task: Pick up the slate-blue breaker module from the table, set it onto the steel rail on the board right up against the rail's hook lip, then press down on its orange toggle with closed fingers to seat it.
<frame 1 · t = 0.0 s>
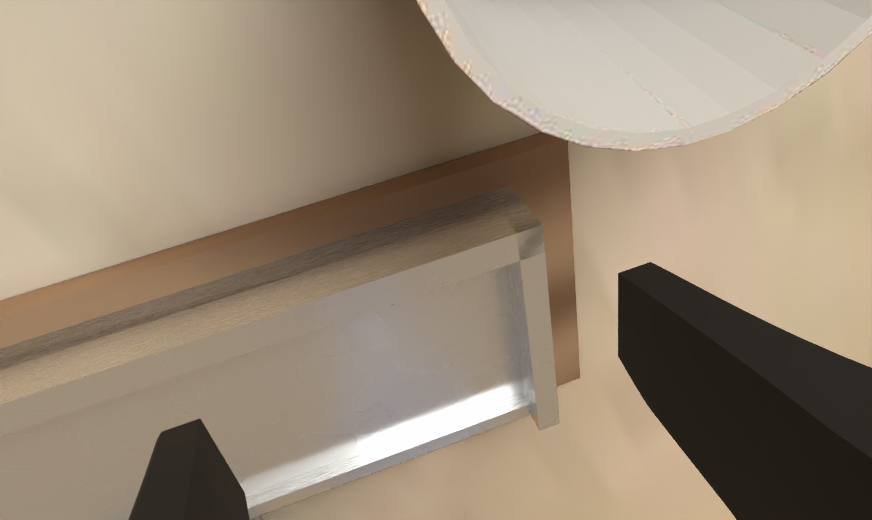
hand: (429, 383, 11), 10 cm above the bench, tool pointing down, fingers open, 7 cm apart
rail: (215, 398, 22), resting on board
board: (214, 382, 23), on the bench
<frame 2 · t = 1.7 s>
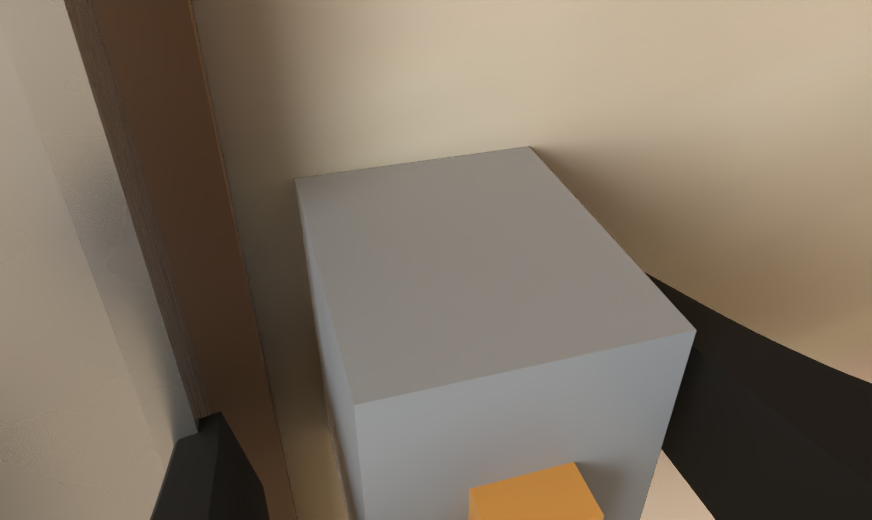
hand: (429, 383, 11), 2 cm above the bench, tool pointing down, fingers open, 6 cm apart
module: (418, 300, 13), on the bench
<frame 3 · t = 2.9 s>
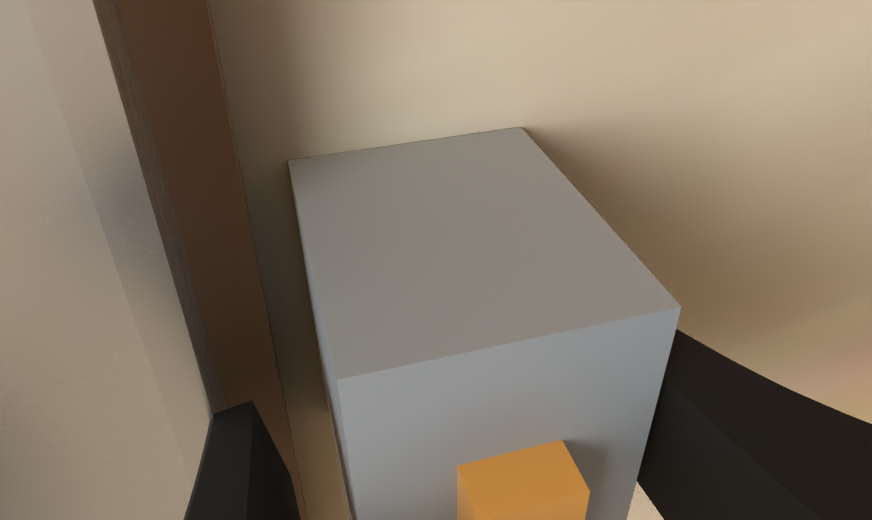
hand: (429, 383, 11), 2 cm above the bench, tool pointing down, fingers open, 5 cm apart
module: (414, 284, 13), on the bench, touching gripper
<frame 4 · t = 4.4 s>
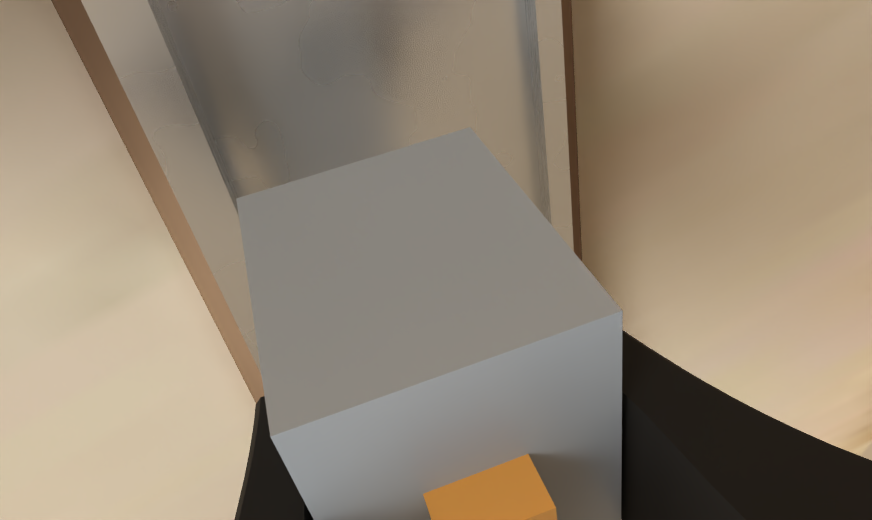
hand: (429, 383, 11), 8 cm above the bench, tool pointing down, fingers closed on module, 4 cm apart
module: (393, 296, 13), point 6 cm above the bench, touching gripper
rail: (380, 164, 17), resting on board
board: (373, 151, 18), on the bench
when the fingers open (4 cm above the bench, at t = 5.5 s): module stays where it is, resting on rail.
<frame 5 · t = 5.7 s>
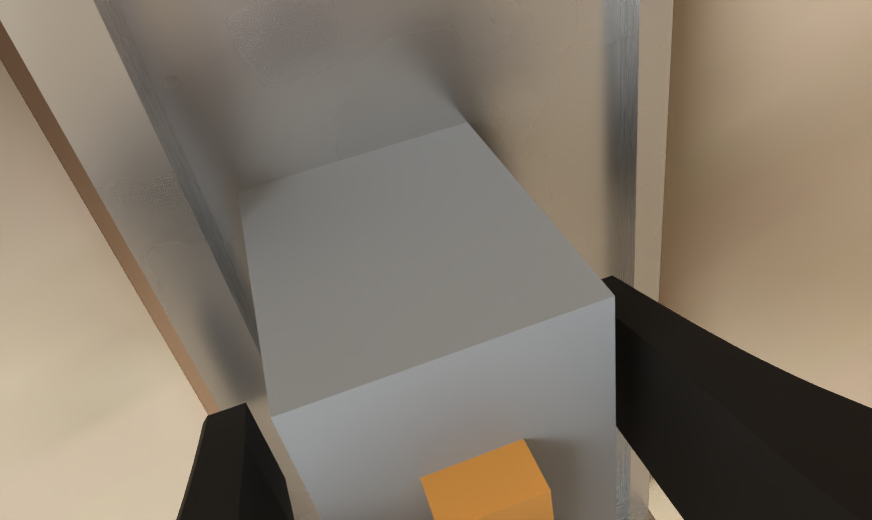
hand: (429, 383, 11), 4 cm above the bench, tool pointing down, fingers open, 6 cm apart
module: (392, 290, 13), point 2 cm above the bench, touching rail
rail: (426, 254, 14), resting on board
board: (416, 234, 15), on the bench
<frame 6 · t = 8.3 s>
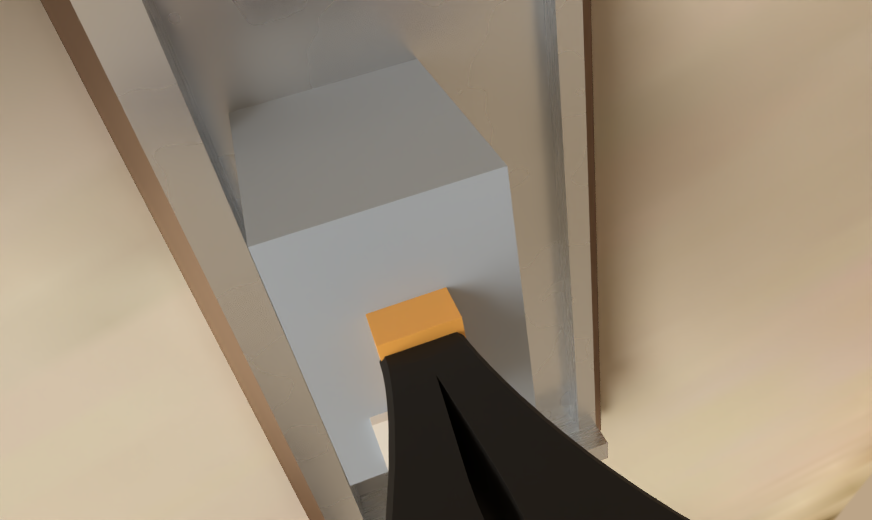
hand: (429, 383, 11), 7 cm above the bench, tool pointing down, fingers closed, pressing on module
module: (359, 205, 16), point 2 cm above the bench, touching gripper, rail
rail: (390, 180, 17), resting on board
board: (383, 165, 17), on the bench
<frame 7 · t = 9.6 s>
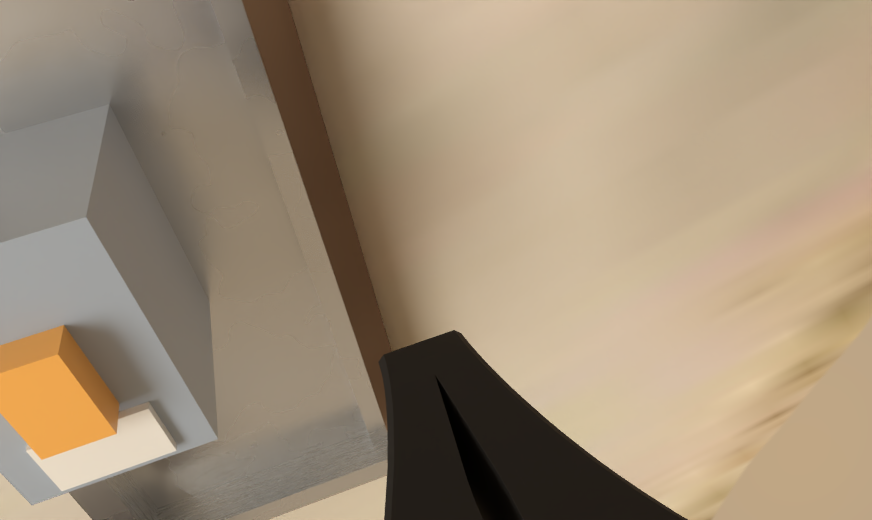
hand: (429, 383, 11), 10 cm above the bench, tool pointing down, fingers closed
module: (83, 238, 17), point 2 cm above the bench, touching rail
rail: (129, 212, 18), resting on board
board: (131, 197, 18), on the bench
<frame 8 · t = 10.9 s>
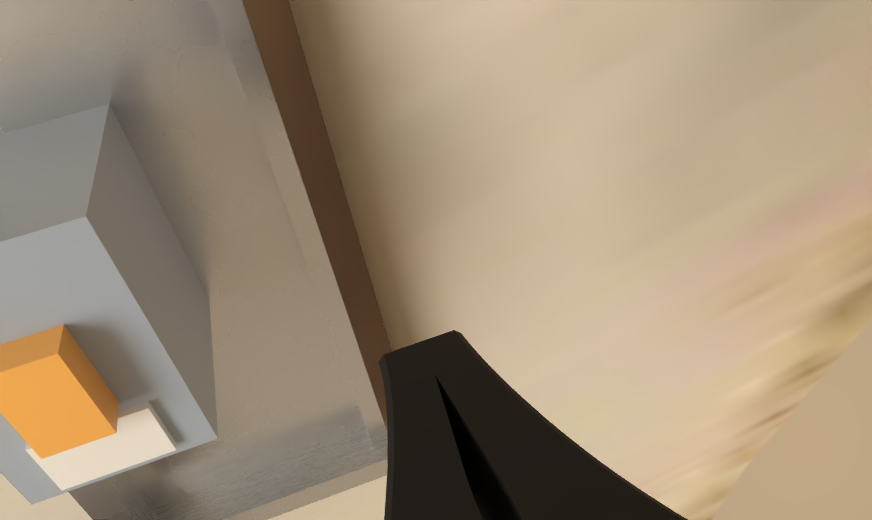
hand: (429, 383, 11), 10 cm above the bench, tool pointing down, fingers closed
module: (83, 238, 17), point 2 cm above the bench, touching rail
rail: (129, 212, 18), resting on board
board: (131, 197, 18), on the bench
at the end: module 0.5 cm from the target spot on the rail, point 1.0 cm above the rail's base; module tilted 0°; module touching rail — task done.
